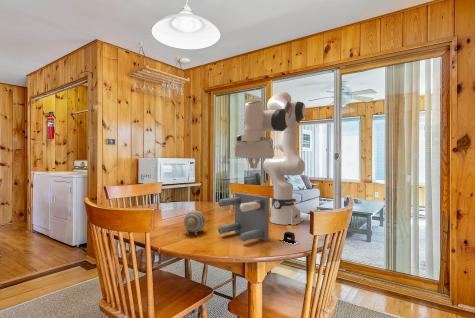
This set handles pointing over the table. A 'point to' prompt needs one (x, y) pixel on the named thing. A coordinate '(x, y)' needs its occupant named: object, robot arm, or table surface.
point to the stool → (248, 217)
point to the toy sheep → (194, 222)
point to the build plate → (289, 235)
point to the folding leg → (251, 206)
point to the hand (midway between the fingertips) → (253, 168)
